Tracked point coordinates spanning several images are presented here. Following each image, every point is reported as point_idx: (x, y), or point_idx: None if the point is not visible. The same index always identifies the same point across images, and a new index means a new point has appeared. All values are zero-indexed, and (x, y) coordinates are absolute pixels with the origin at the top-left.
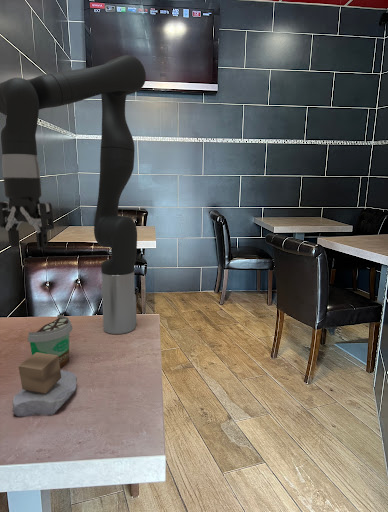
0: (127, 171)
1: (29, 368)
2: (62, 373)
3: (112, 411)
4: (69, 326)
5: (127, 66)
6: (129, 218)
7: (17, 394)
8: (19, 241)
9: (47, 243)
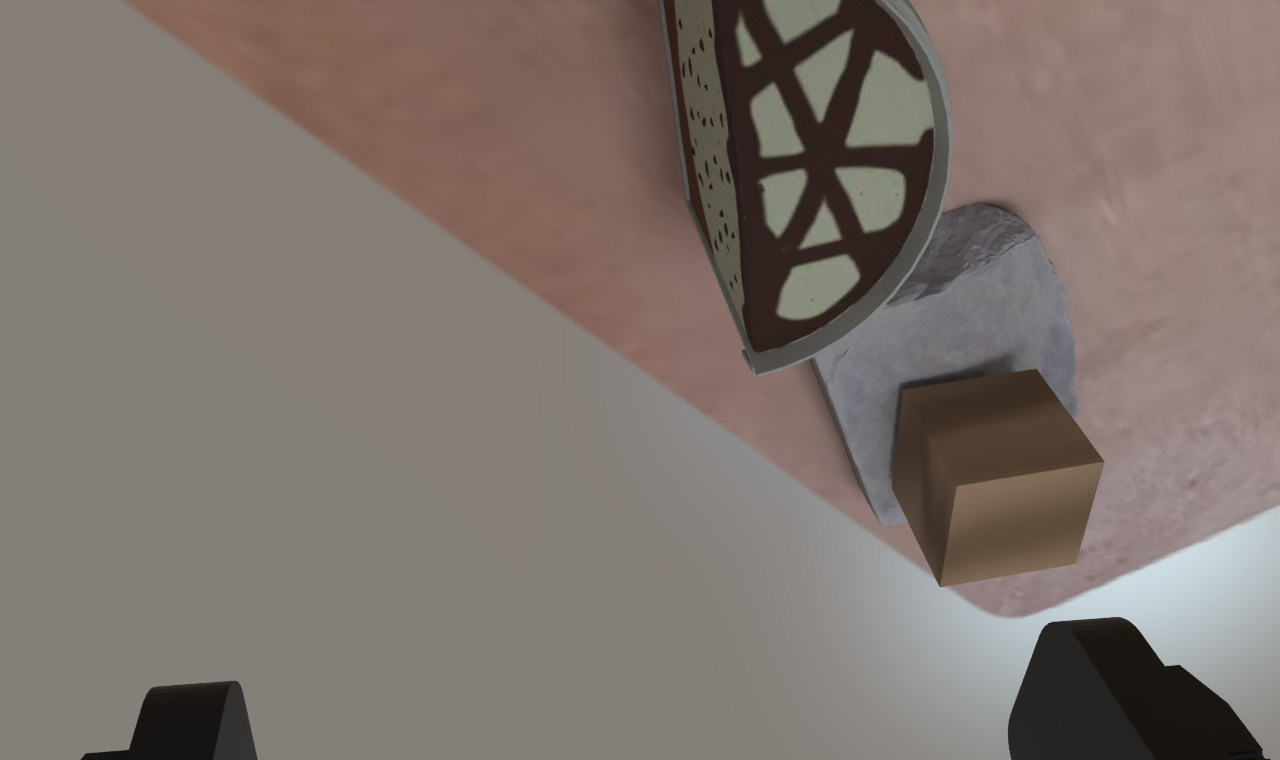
0: None
1: (1003, 573)
2: (984, 293)
3: (1262, 307)
4: (948, 92)
5: None
6: None
7: (880, 503)
8: (211, 749)
9: (1228, 712)
